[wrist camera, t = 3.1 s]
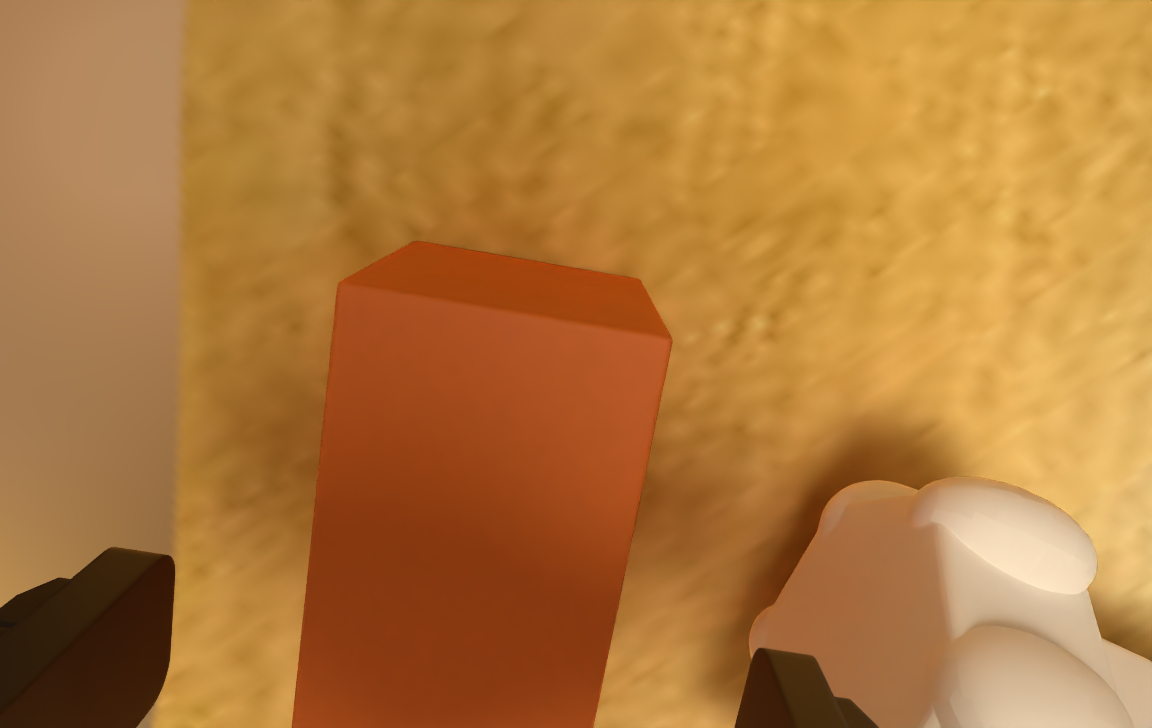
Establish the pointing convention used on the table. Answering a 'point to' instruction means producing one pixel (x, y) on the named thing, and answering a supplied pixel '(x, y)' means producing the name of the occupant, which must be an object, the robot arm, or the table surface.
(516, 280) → the block
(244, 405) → the table surface
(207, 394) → the table surface
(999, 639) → the white bone
